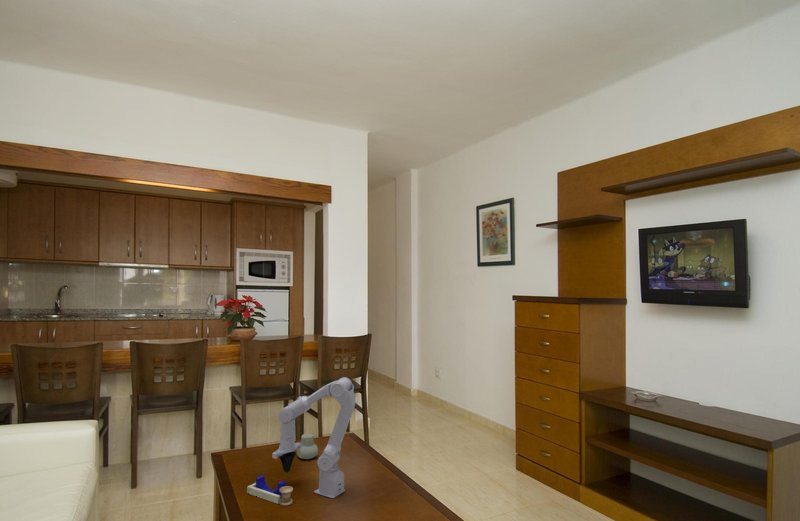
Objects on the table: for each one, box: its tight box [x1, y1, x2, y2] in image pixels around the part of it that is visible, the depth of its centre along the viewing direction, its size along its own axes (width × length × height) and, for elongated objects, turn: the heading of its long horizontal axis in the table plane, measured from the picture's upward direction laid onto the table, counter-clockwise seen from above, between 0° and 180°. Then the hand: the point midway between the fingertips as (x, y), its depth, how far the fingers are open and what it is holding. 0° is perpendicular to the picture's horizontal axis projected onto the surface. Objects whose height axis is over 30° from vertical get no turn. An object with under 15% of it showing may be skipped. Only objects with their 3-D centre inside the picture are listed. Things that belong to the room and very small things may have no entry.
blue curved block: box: [255, 475, 287, 499], centre depth 177 cm, size 12×4×6 cm, turn 65°
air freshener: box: [295, 433, 319, 460], centre depth 216 cm, size 11×8×10 cm
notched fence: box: [246, 482, 281, 505], centre depth 176 cm, size 16×7×2 cm, turn 60°
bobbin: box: [278, 485, 294, 507], centre depth 171 cm, size 5×5×5 cm
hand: (286, 471), depth 184 cm, fingers closed
